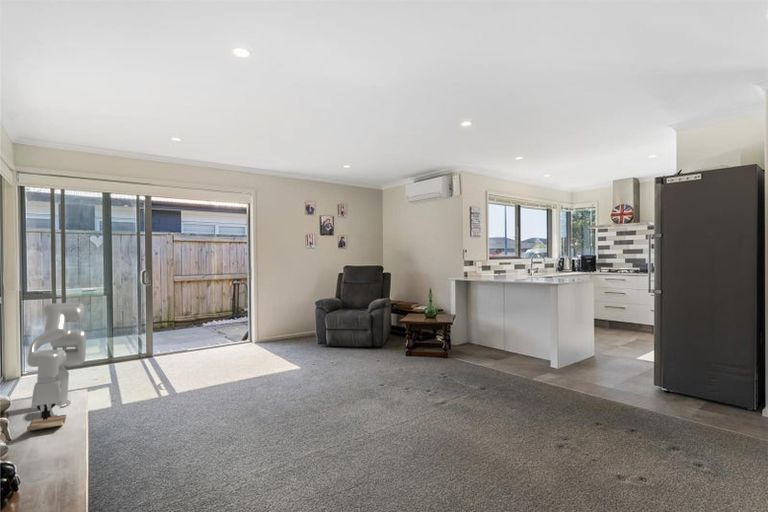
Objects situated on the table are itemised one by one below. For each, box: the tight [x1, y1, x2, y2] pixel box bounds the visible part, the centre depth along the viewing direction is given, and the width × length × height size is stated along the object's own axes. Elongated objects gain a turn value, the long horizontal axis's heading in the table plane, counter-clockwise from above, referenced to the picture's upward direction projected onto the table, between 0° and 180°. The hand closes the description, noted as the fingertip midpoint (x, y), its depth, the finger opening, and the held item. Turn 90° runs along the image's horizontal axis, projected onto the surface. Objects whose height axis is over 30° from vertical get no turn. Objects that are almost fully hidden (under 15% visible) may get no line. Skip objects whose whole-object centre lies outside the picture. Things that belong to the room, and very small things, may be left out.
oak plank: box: [26, 421, 65, 432], centre depth 186 cm, size 11×12×2 cm
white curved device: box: [44, 404, 61, 417], centre depth 207 cm, size 17×5×10 cm, turn 38°
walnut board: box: [30, 414, 67, 426], centre depth 195 cm, size 12×13×2 cm
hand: (45, 418), depth 182 cm, fingers closed
